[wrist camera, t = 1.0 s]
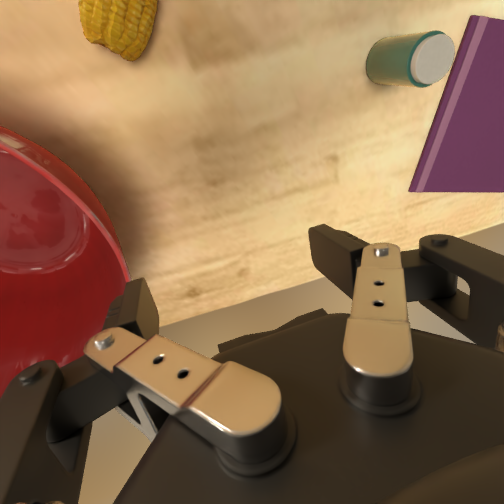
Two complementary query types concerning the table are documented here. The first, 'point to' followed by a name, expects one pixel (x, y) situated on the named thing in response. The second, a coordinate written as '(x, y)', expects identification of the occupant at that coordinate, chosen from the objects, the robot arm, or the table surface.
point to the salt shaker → (411, 59)
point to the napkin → (469, 118)
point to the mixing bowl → (51, 259)
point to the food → (119, 24)
